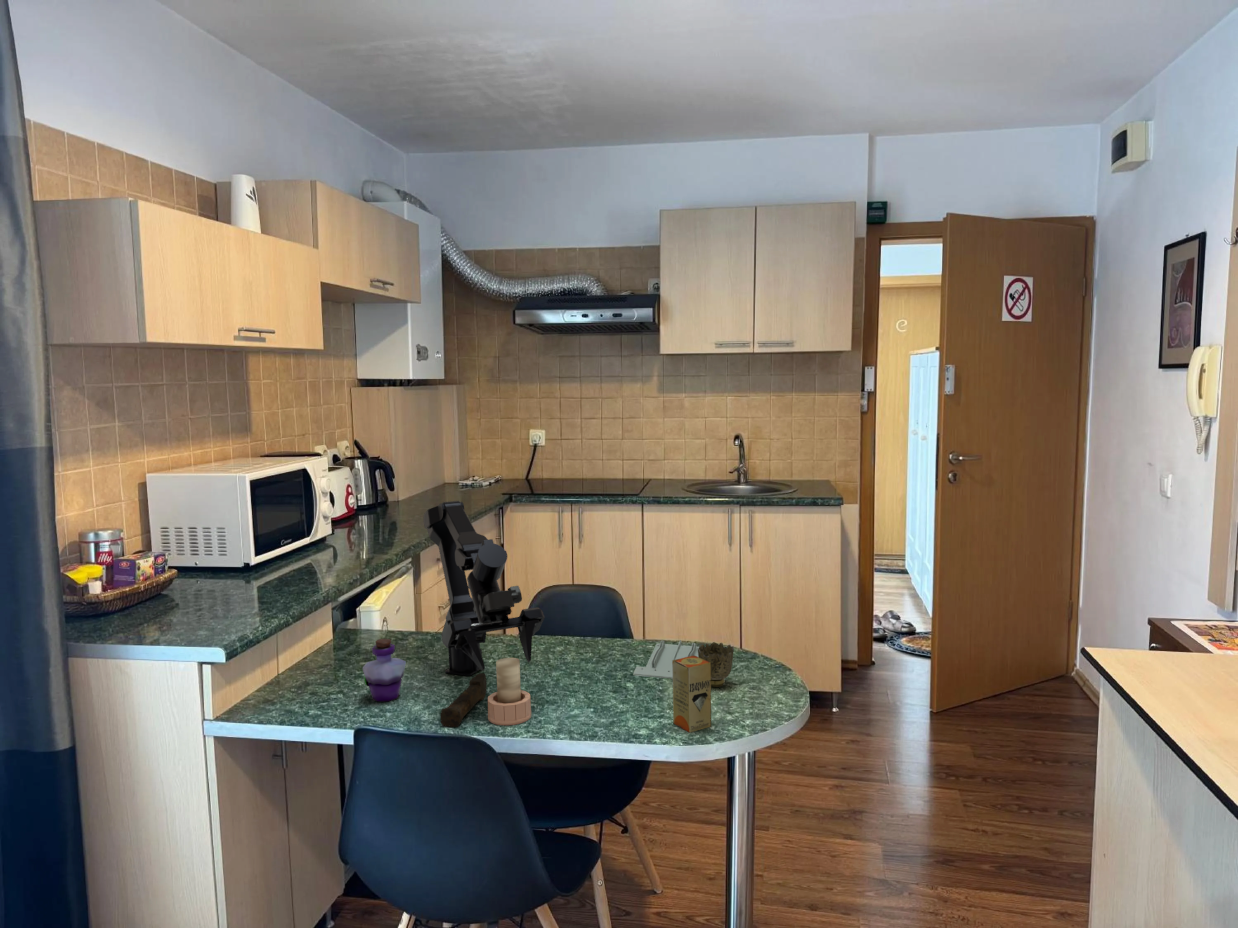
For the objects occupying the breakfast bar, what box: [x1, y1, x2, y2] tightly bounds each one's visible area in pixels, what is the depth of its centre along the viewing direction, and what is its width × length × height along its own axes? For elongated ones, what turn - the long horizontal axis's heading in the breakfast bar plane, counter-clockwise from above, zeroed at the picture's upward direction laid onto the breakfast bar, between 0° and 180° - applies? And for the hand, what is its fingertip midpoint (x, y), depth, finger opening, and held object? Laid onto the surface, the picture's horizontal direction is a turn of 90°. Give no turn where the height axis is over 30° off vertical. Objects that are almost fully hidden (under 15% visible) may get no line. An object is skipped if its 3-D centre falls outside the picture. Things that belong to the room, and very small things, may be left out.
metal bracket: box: [632, 639, 699, 680], centre depth 186 cm, size 14×6×15 cm
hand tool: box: [439, 672, 488, 728], centre depth 166 cm, size 19×4×5 cm, turn 166°
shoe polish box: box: [672, 655, 712, 733], centre depth 155 cm, size 5×5×12 cm
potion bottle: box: [362, 638, 407, 703], centre depth 172 cm, size 9×9×12 cm
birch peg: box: [495, 657, 522, 704], centre depth 161 cm, size 4×4×10 cm
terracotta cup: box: [487, 689, 532, 726], centre depth 161 cm, size 8×8×4 cm
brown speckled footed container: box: [698, 641, 735, 688], centre depth 175 cm, size 8×7×8 cm
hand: (506, 665), depth 161 cm, fingers open, 9 cm apart
